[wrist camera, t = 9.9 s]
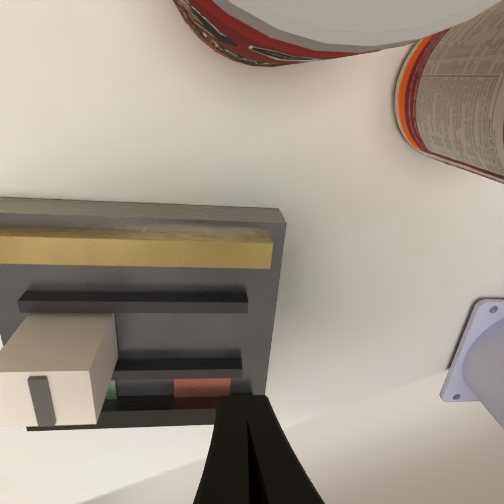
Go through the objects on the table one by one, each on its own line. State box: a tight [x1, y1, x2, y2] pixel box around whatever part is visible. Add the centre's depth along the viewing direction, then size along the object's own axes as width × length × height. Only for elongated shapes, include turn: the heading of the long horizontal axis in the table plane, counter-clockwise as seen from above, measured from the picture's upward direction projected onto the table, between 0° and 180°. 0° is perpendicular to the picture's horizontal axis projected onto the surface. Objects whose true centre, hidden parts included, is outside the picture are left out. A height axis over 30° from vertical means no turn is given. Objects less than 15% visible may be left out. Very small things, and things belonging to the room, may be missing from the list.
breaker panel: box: [0, 197, 286, 431], centre depth 19 cm, size 13×12×3 cm
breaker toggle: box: [0, 313, 118, 427], centre depth 16 cm, size 4×3×4 cm
